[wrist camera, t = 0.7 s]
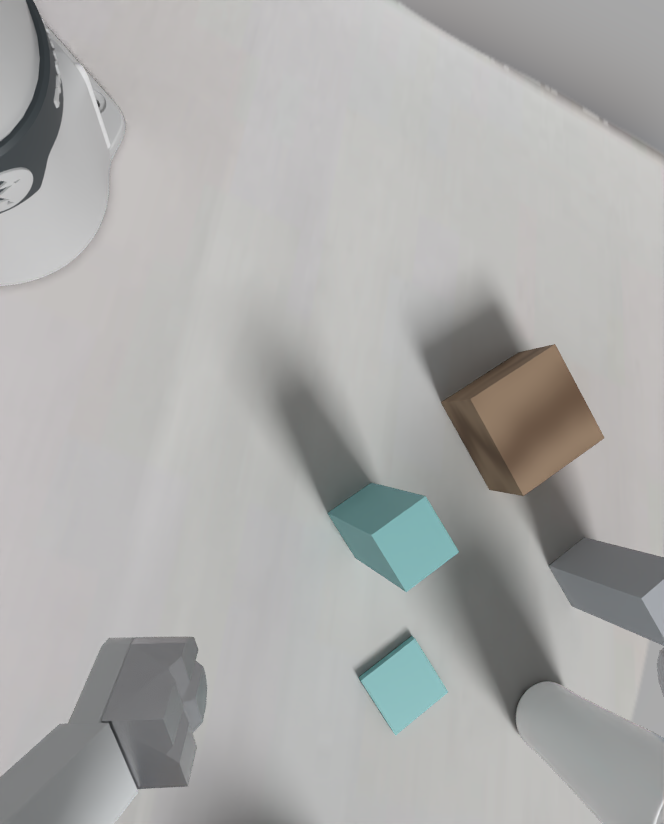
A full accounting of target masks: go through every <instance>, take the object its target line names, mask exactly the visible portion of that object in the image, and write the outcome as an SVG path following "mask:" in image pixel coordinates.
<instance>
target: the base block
mask: <svg viewBox="0 0 664 824" xmlns="http://www.w3.org/2000/svg"><path fill="white" fill-rule="evenodd" d="M441 403H442V405H443V407H444V409H445V410H446V412H447V414H448V416H449V418H450V419H451V421H452V423H453V425H454V427H455V428H456V430H457V432H458V434H459V436H460V438H461V439H462V441H463V443H464V445H465V447H466V448H467V450H468V452H469V454H470V456H471V457H472V459H473V461H474V463H475V465H476V466H477V468H478V470H479V472H480V474H481V475H482V477H483V479H484V481H485V483H486V484H487V486H488V488H489V490H493V491H499V492H505V493H510V494H516V495H521V496H524V495H525V494H527V493H528V492H530V491H531V490H532V489H534V488H535V487H537V486H538V485H539V484H541V483H542V482H544V481H545V480H546V479H548V478H549V477H551V476H552V475H553V474H555V473H556V472H558V471H559V470H560V469H562V468H563V467H565V466H566V465H567V464H569V463H570V462H572V461H573V460H574V459H576V458H577V457H579V456H580V455H581V454H583V453H584V452H586V451H587V450H588V449H590V448H591V447H593V446H594V445H595V444H597V443H598V442H599V441H601V440H602V439H604V436H603V434H602V432H601V430H600V428H599V427H598V425H597V423H596V421H595V419H594V417H593V415H592V413H591V411H590V409H589V408H588V406H587V404H586V402H585V400H584V398H583V396H582V394H581V392H580V391H579V389H578V387H577V385H576V383H575V381H574V379H573V377H572V375H571V373H570V372H569V370H568V368H567V366H566V364H565V362H564V360H563V358H562V356H561V354H560V353H559V351H558V349H557V347H556V345H555V344H554V345H549V346H545V347H541V348H536V349H532V350H528V351H523V352H519V353H517V354H516V355H514V356H513V357H511V358H509V359H508V360H506V361H505V362H503V363H502V364H500V365H499V366H497V367H495V368H494V369H492V370H491V371H489V372H488V373H486V374H485V375H483V376H481V377H480V378H478V379H477V380H475V381H474V382H472V383H470V384H469V385H467V386H466V387H464V388H463V389H461V390H460V391H458V392H456V393H455V394H453V395H452V396H450V397H449V398H447V399H446V400H444V401H442V402H441Z"/></svg>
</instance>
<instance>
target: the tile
mask: <svg viewBox="0 0 664 824" xmlns="http://www.w3.org/2000/svg"><path fill="white" fill-rule="evenodd" d="M359 679H360V681H361V683H362V684H363V686H364V687H365V689H366V690H367V692H368V693H369V695H370V697H371V698H372V700H373V701H374V703H375V704H376V706H377V708H378V709H379V711H380V712H381V714H382V715H383V717H384V719H385V720H386V722H387V723H388V725H389V726H390V728H391V729H392V731H393V732H394V734H395V735H397V734H398V733H399V732H400V731H402V730H403V729H404V728H405V727H406V726H408V725H409V724H410V723H411V722H412V721H414V720H415V719H416V718H417V717H419V716H420V715H421V714H422V713H423V712H425V711H426V710H427V709H428V708H429V707H431V706H432V705H433V704H434V703H436V702H437V701H438V700H439V699H440V698H442V697H443V696H444V695H445V694H446V693H448V691H447V689H446V688H445V686H444V685H443V683H442V681H441V680H440V678H439V677H438V675H437V673H436V672H435V670H434V668H433V667H432V665H431V664H430V662H429V660H428V659H427V657H426V656H425V654H424V652H423V651H422V649H421V648H420V646H419V644H418V643H417V641H416V639H415V638H414V637H412V636H411V637H410V638H409V639H407V640H406V641H405V642H403V643H402V644H401V645H400V646H398V647H397V648H396V649H394V650H393V651H392V652H391V653H389V654H388V655H387V656H386V657H384V658H383V659H382V660H380V661H379V662H378V663H377V664H375V665H374V666H373V667H371V668H370V669H369V670H368V671H366V672H365V673H364V674H362V675H361V676H360V677H359Z"/></svg>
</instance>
